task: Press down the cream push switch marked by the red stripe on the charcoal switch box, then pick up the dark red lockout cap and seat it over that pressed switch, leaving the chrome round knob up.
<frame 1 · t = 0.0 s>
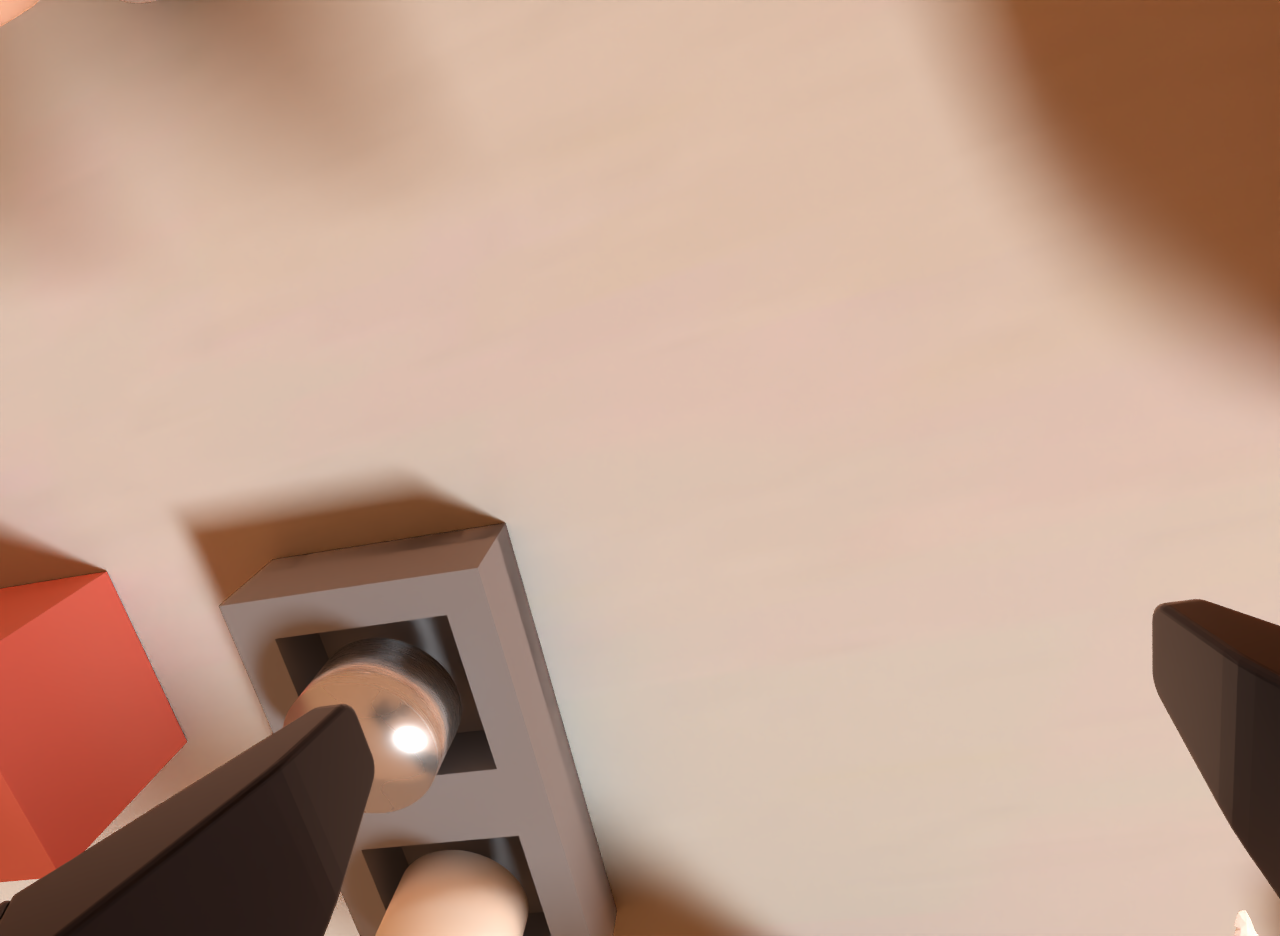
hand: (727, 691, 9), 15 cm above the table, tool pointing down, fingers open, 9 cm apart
cream switch: (453, 930, 26), point 4 cm above the table, slide at 0.0 cm
chrome round knob: (375, 724, 23), point 4 cm above the table, slide at 0.0 cm
switch box: (456, 747, 28), on the table
lockout cap: (62, 671, 29), on the table
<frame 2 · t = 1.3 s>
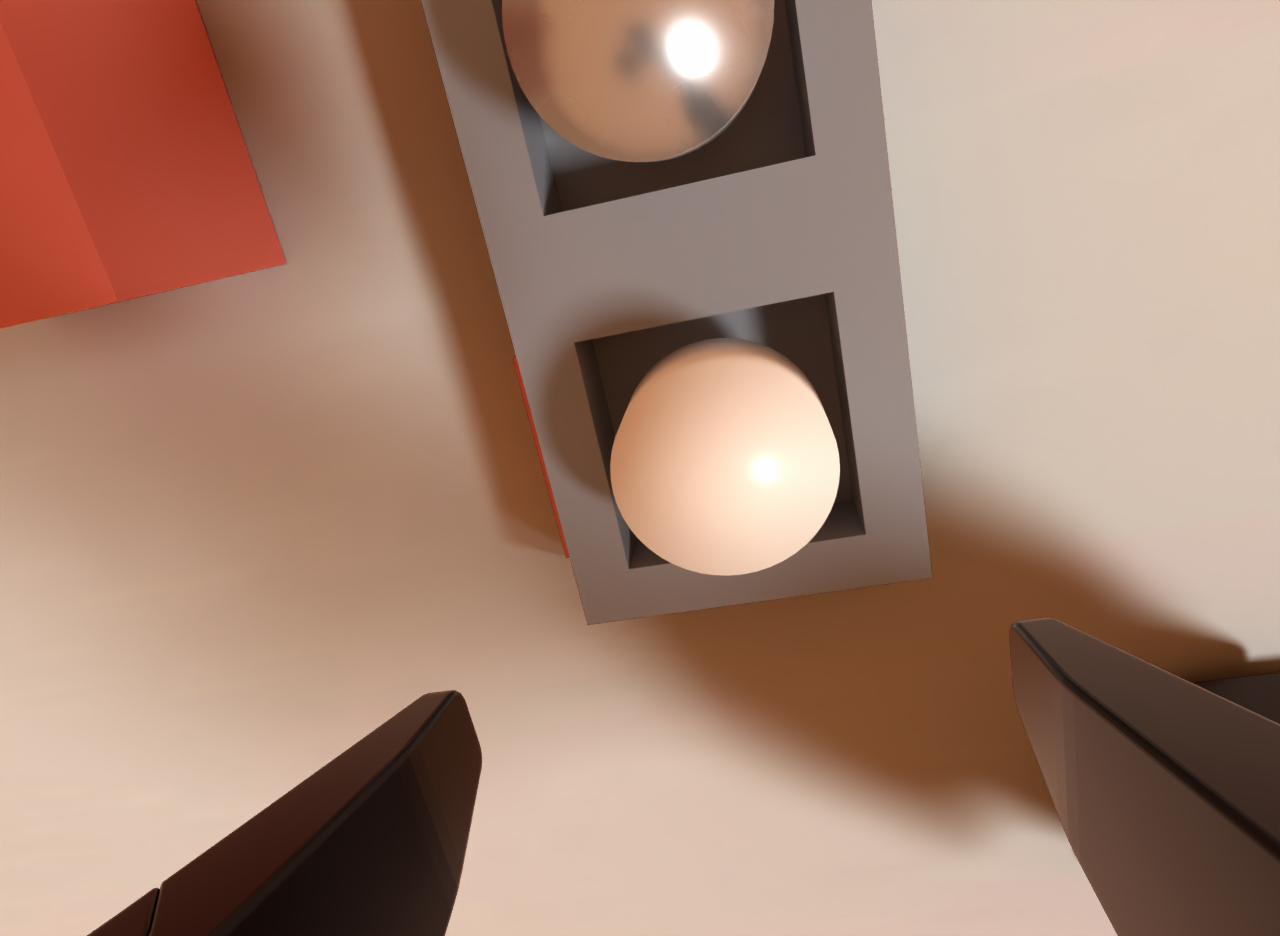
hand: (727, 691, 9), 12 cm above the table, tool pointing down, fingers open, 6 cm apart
cream switch: (723, 454, 17), point 4 cm above the table, slide at 0.0 cm
chrome round knob: (642, 26, 14), point 4 cm above the table, slide at 0.0 cm
switch box: (693, 240, 19), on the table
lockout cap: (105, 147, 20), on the table
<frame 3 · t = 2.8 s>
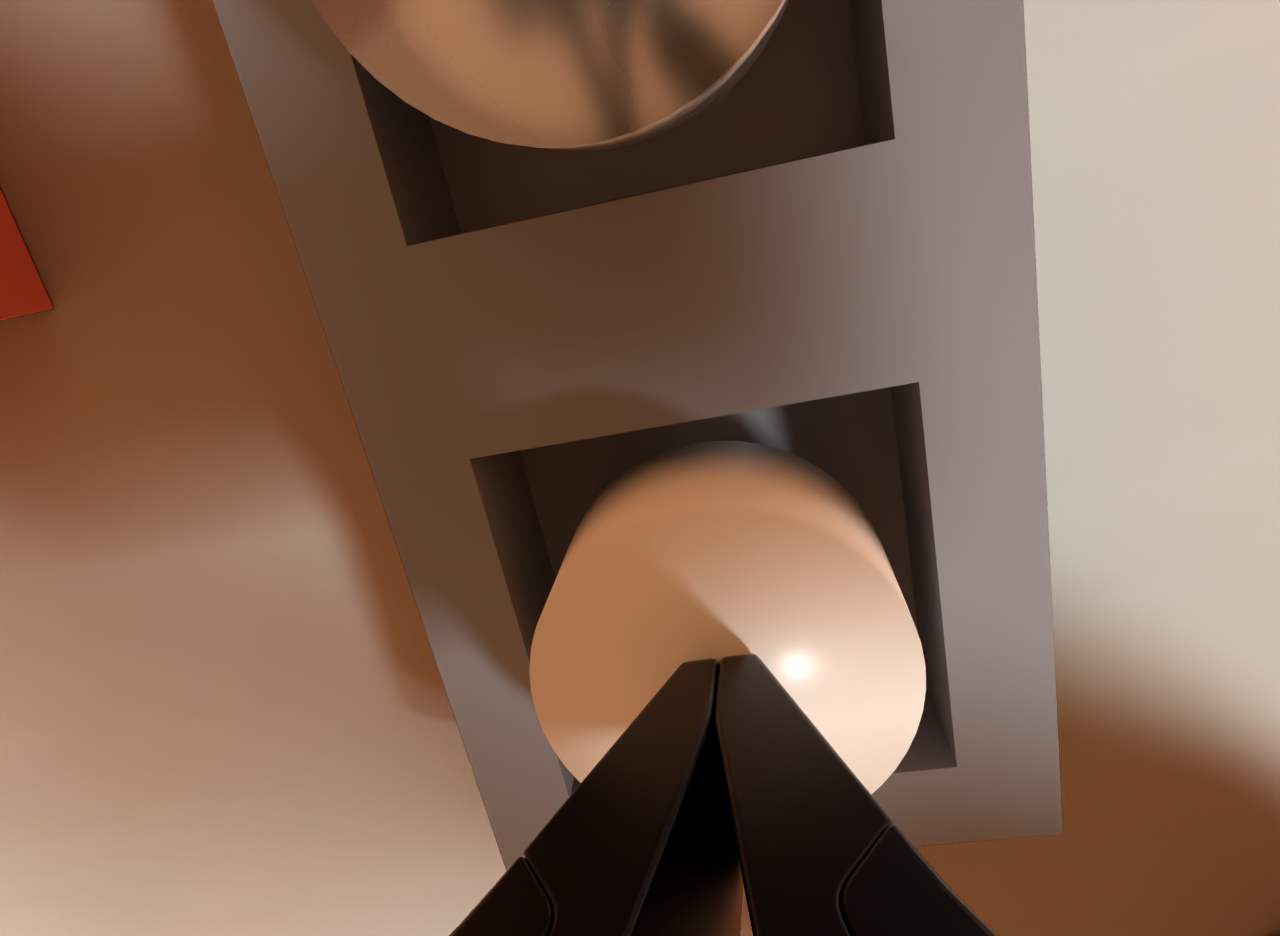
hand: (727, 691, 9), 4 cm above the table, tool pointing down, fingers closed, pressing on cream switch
cream switch: (723, 636, 10), point 3 cm above the table, slide at 0.5 cm, touching gripper
switch box: (677, 279, 12), on the table
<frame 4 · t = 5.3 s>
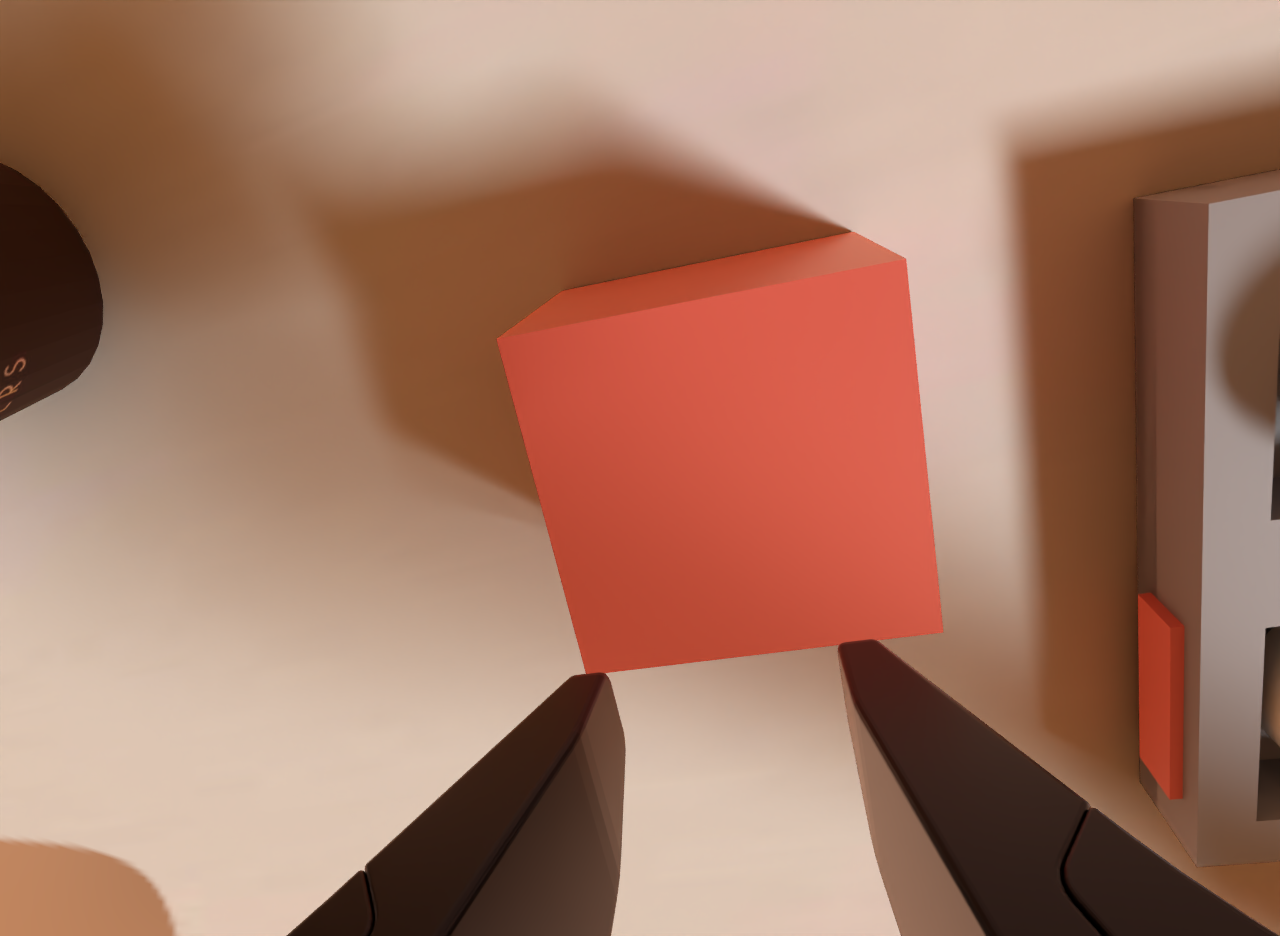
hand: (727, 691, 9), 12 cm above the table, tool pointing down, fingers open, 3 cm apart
lockout cap: (728, 402, 20), on the table
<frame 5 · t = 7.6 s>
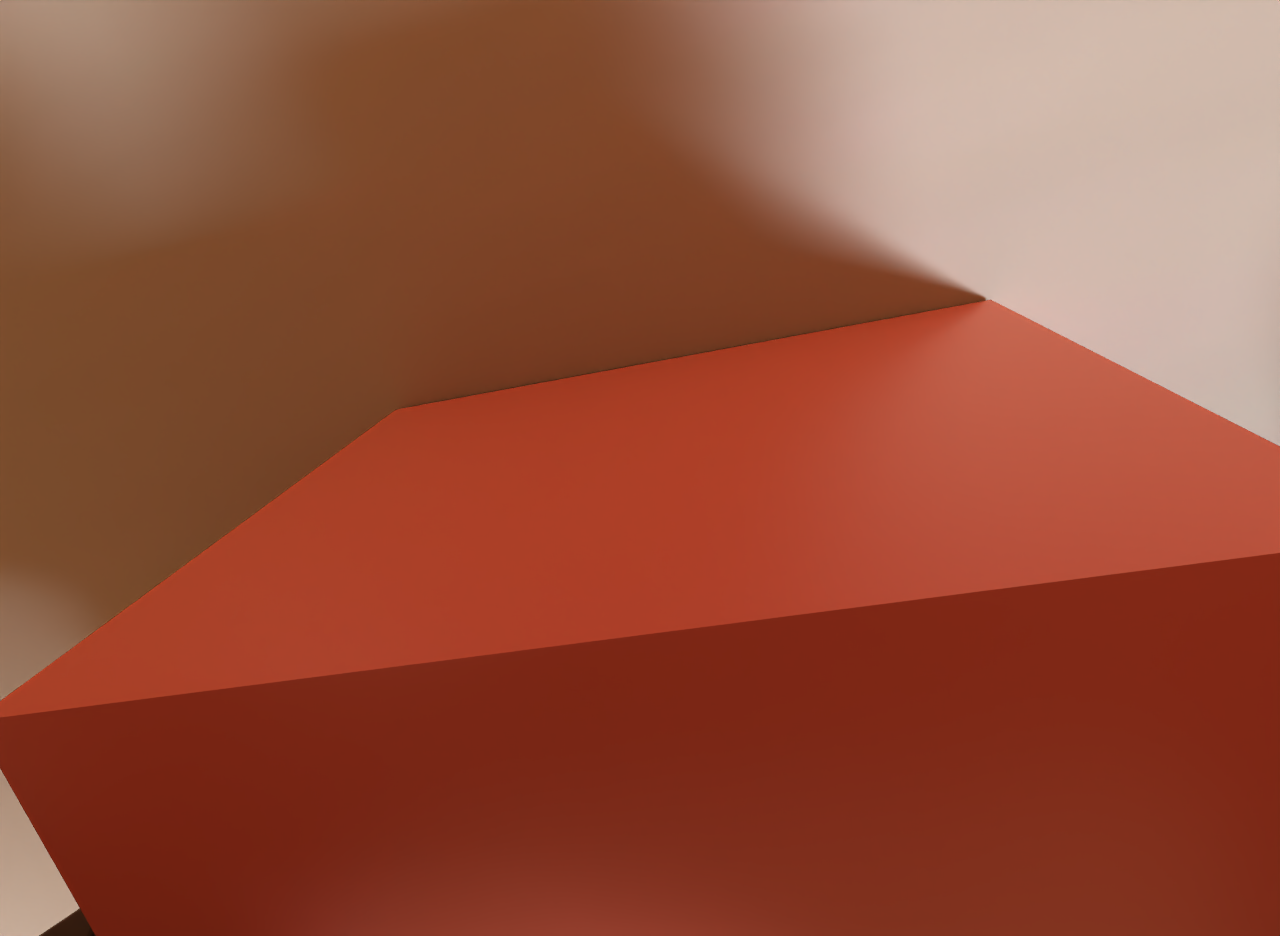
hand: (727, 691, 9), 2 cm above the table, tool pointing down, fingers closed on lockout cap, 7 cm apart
lockout cap: (726, 619, 11), on the table, touching gripper
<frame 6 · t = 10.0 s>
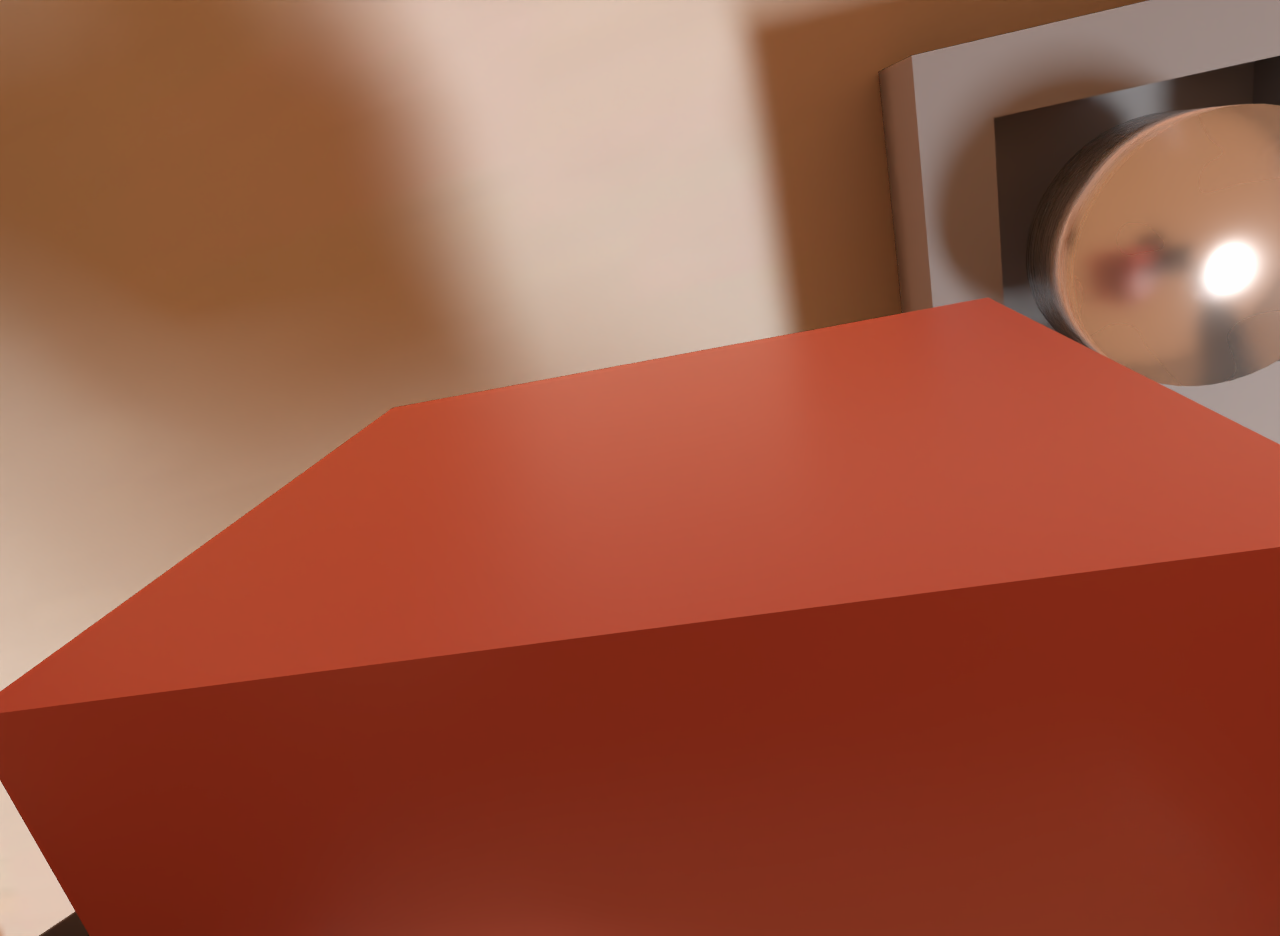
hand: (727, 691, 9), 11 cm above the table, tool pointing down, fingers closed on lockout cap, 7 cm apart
chrome round knob: (1181, 246, 14), point 4 cm above the table, slide at 0.0 cm
switch box: (1088, 401, 19), on the table
lockout cap: (724, 617, 11), point 10 cm above the table, touching gripper
when the fingers open (6 cm above the table, at t = 12.7 s): lockout cap drops 1 cm, resting on switch box.
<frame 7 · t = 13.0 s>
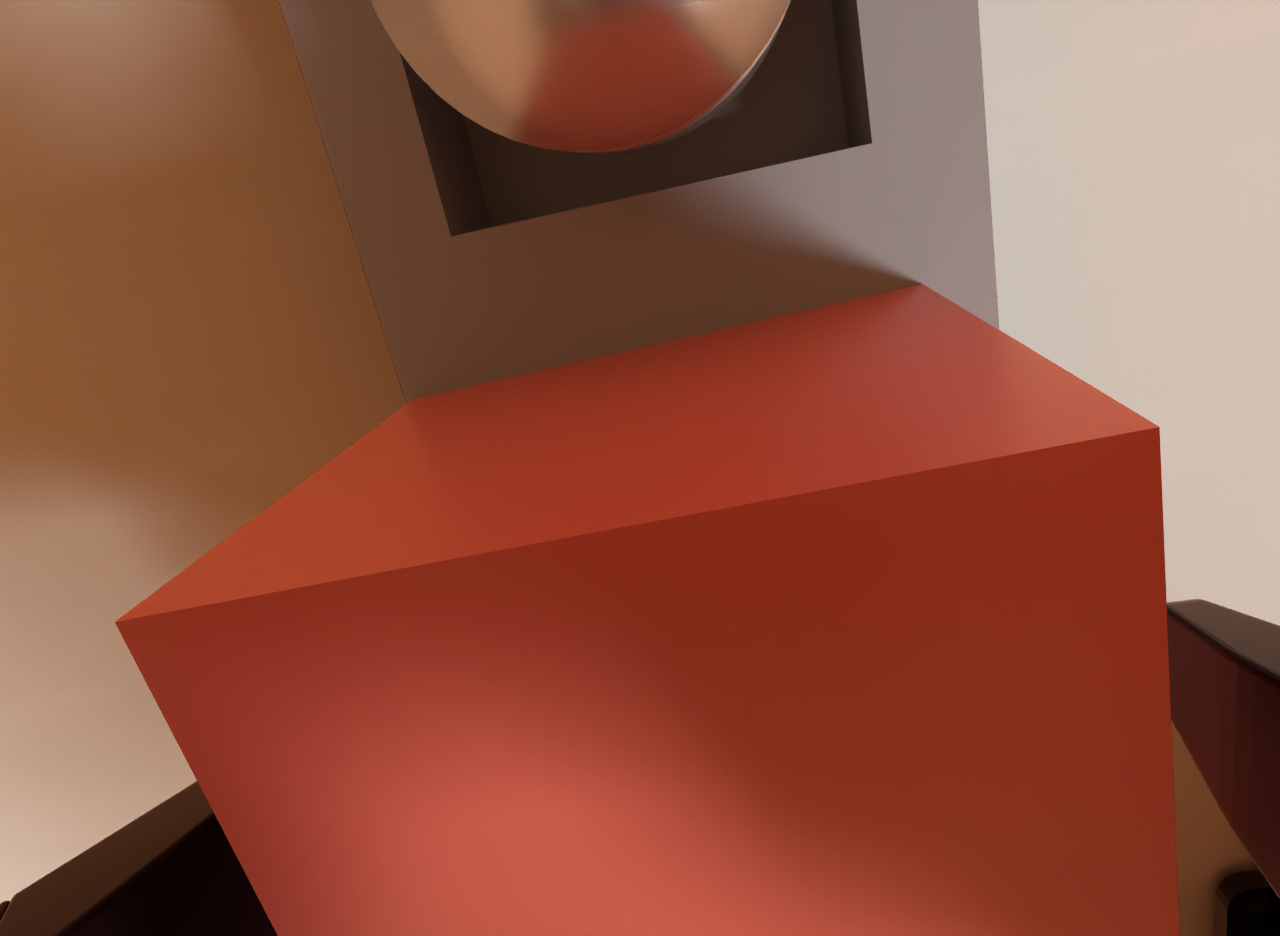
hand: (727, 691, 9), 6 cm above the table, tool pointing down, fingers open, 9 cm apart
switch box: (683, 267, 13), on the table
lockout cap: (709, 574, 12), point 3 cm above the table, touching switch box
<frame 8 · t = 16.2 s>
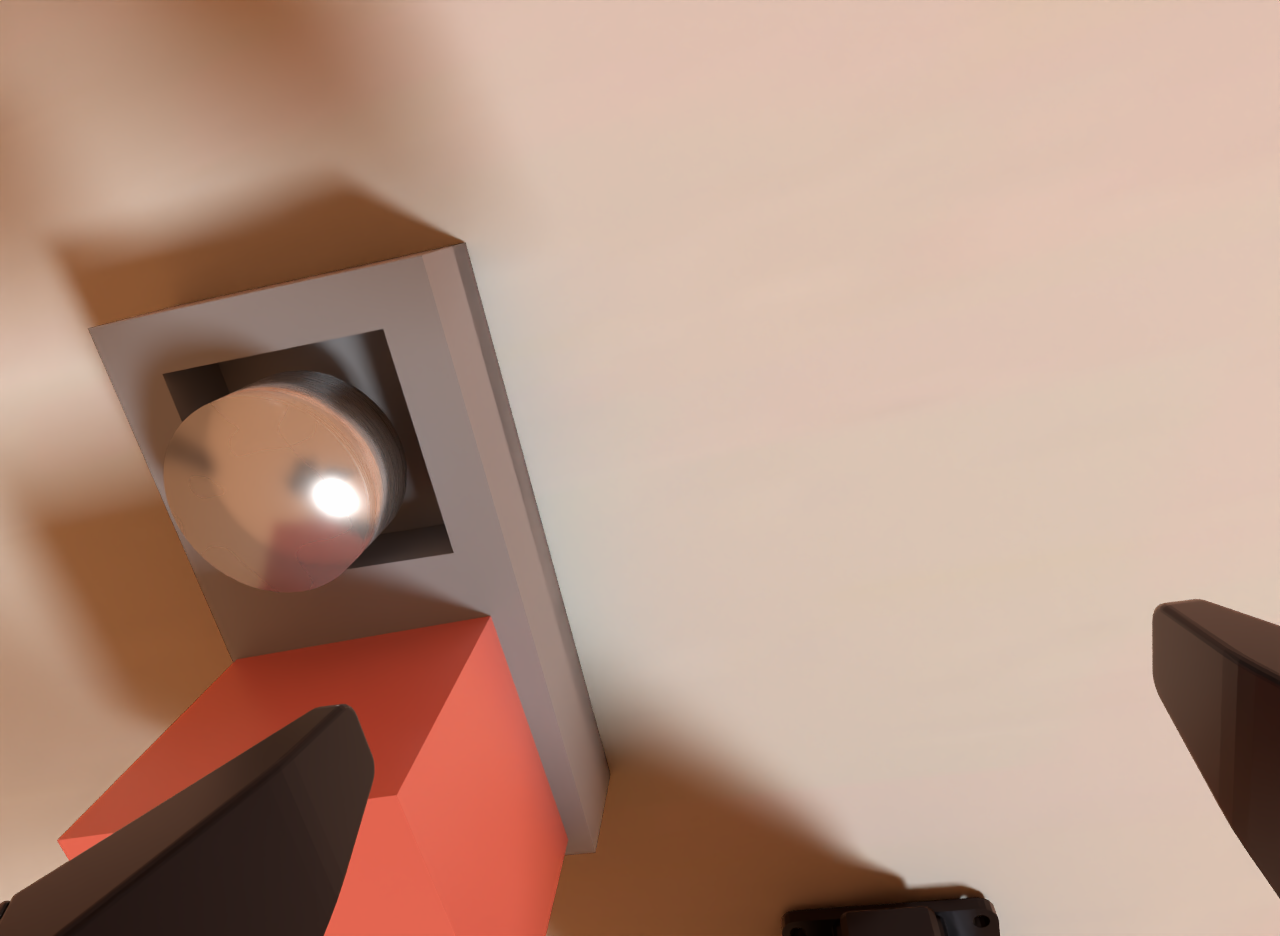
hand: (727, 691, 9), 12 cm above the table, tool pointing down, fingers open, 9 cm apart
chrome round knob: (291, 479, 18), point 4 cm above the table, slide at 0.0 cm
switch box: (410, 560, 23), on the table
lockout cap: (406, 751, 21), point 3 cm above the table, touching switch box
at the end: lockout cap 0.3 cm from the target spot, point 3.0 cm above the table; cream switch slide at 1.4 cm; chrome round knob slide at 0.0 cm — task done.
